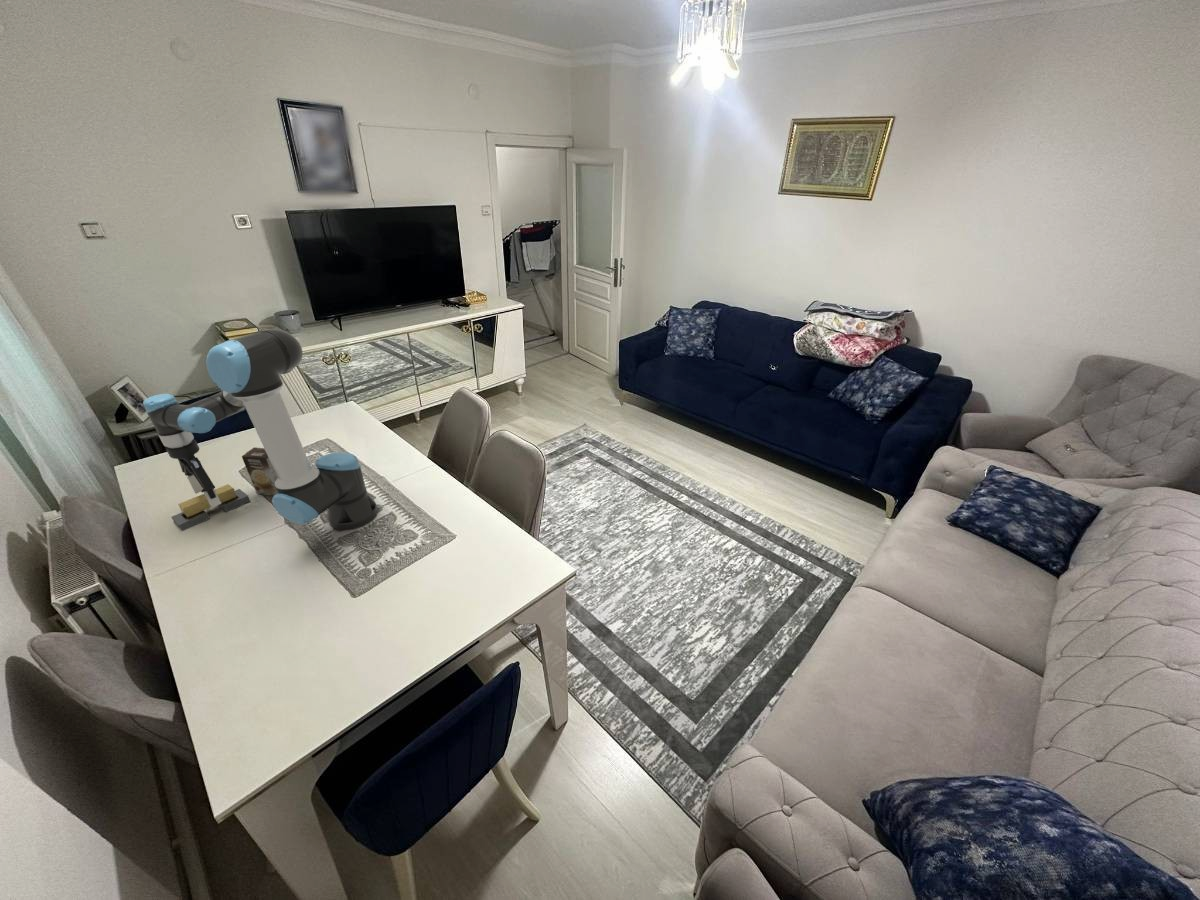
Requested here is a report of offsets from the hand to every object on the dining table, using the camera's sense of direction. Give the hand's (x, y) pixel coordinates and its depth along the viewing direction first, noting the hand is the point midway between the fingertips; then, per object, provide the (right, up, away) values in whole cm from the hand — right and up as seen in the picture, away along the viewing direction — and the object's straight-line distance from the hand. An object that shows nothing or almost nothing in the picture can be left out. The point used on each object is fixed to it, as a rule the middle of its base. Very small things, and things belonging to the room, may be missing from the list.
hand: (208, 498), depth 160 cm
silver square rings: (-1, -5, +3) cm, 6 cm away
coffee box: (+12, +1, +14) cm, 19 cm away
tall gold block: (-1, -5, +3) cm, 6 cm away
